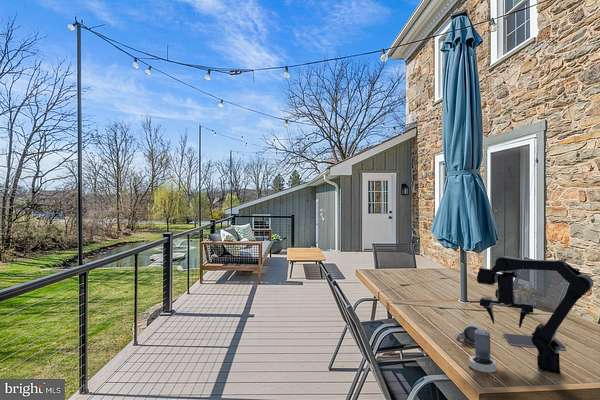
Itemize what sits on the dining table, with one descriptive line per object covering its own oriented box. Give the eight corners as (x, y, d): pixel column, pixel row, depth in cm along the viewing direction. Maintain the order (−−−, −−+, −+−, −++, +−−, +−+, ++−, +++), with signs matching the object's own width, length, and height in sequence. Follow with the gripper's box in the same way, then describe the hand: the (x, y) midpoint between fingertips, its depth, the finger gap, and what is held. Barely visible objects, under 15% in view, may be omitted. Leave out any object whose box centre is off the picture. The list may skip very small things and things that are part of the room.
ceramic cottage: (526, 299, 236) (524, 277, 236) (541, 307, 220) (539, 283, 220) (502, 301, 237) (500, 278, 237) (515, 308, 221) (513, 284, 221)
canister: (488, 363, 138) (488, 330, 138) (492, 369, 132) (492, 334, 133) (473, 362, 139) (473, 329, 139) (477, 368, 134) (476, 333, 134)
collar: (497, 365, 137) (497, 359, 137) (494, 374, 129) (494, 368, 129) (471, 360, 142) (471, 354, 142) (467, 368, 134) (467, 362, 135)
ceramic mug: (482, 339, 165) (481, 322, 165) (482, 345, 158) (481, 327, 158) (457, 336, 170) (456, 319, 170) (456, 341, 163) (455, 324, 163)
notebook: (555, 341, 163) (503, 336, 170) (555, 337, 163) (503, 333, 170) (566, 351, 151) (510, 346, 158) (566, 348, 151) (510, 342, 158)
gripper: (533, 286, 146) (534, 324, 146) (483, 281, 157) (483, 316, 156) (532, 291, 137) (533, 332, 136) (479, 285, 148) (480, 323, 147)
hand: (506, 325), depth 144 cm, fingers open, 9 cm apart
